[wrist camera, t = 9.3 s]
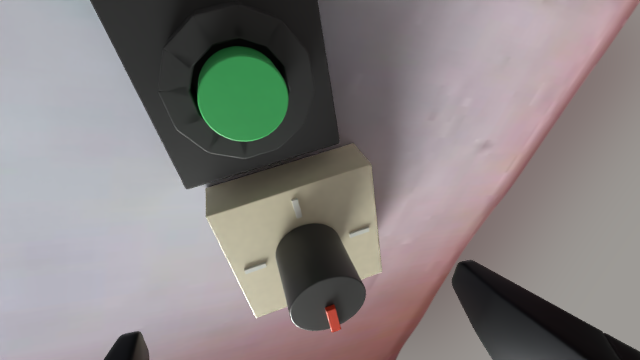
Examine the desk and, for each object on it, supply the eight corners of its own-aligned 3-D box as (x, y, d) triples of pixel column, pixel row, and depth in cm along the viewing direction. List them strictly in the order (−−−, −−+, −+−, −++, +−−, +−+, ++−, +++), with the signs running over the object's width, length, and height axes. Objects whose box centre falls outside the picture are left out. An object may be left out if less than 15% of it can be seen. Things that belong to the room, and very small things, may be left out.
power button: (184, 57, 14) (181, 67, 12) (269, 36, 14) (277, 43, 13) (215, 135, 16) (216, 152, 14) (288, 114, 16) (297, 128, 15)
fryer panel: (205, 187, 21) (205, 218, 18) (353, 142, 22) (372, 165, 20) (251, 286, 27) (256, 320, 24) (366, 245, 28) (383, 273, 25)
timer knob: (267, 236, 20) (282, 300, 17) (334, 214, 21) (364, 269, 17) (284, 281, 23) (300, 345, 19) (344, 260, 24) (371, 317, 20)
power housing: (95, -21, 14) (63, -18, 11) (295, -63, 16) (319, -71, 12) (187, 170, 20) (184, 209, 17) (328, 128, 21) (351, 157, 18)
